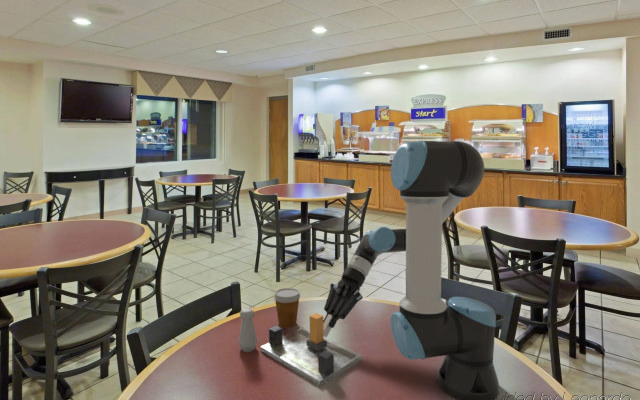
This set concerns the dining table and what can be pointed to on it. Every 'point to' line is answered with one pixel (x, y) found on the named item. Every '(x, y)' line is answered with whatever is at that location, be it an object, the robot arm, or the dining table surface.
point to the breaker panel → (309, 355)
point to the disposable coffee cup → (287, 306)
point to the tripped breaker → (316, 333)
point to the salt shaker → (247, 331)
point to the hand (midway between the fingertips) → (322, 334)
